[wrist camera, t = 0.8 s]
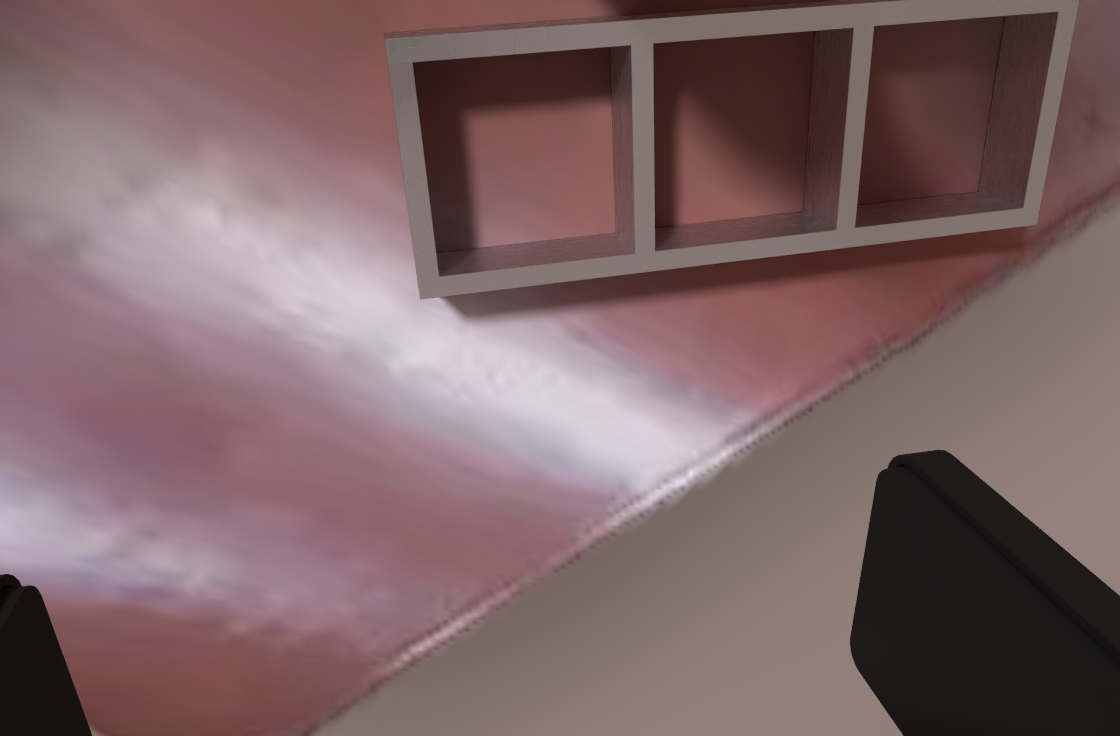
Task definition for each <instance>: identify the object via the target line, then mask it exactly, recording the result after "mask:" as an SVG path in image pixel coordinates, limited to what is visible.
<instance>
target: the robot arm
mask: <svg viewBox="0 0 1120 736" xmlns="http://www.w3.org/2000/svg"><path fill="white" fill-rule="evenodd" d="M850 647H851V653H852V657H853V659H854V662H855V665H856V667H857V669H858V670H859V672H860V674H861V675H862V676H863V678H864V679H865V681H866V682H867V683H868V685H869V687H870V688H871V689H872V691H873V692H874V694H875V695H876V697H877V698H878V700H879V701H880V702H881V704H882V705H883V707H884V708H885V710H886V711H887V712H888V714H889V715H890V717H891V718H892V720H893V721H894V723H895V724H896V725H897V727H898V728H899V730H900V731H901V732H902V734H903V736H1120V596H1119V595H1118V594H1117V593H1116V592H1114V591H1113V590H1112V589H1111V588H1110V587H1108V586H1107V585H1106V584H1105V583H1104V582H1103V581H1101V580H1100V579H1099V578H1098V577H1097V576H1096V575H1094V574H1093V573H1092V572H1091V571H1090V570H1088V569H1087V568H1086V567H1085V566H1084V565H1082V564H1081V563H1080V562H1079V561H1078V560H1077V559H1075V558H1074V557H1073V556H1072V555H1071V554H1069V553H1068V552H1067V551H1066V550H1065V549H1063V548H1062V547H1061V546H1060V545H1059V544H1058V543H1056V542H1055V541H1054V540H1053V539H1052V538H1050V537H1049V536H1048V535H1047V534H1046V533H1044V532H1043V531H1042V530H1041V529H1039V527H1037V526H1036V525H1035V524H1034V523H1032V522H1031V521H1030V520H1029V519H1028V518H1026V517H1025V516H1024V515H1023V514H1022V513H1021V512H1020V511H1018V510H1017V509H1016V508H1015V507H1013V506H1012V505H1011V504H1010V503H1009V502H1008V501H1006V500H1005V499H1004V498H1003V497H1002V496H1000V495H999V494H998V493H997V492H996V491H995V490H993V489H992V488H991V487H990V486H989V485H987V484H986V483H985V482H984V481H983V480H981V479H980V478H979V477H978V476H977V475H975V474H974V473H973V472H972V471H971V470H969V469H968V468H967V467H966V466H965V465H964V464H962V463H961V462H960V461H959V460H958V459H957V458H955V457H954V456H953V455H952V454H950V453H948V452H946V451H944V450H934V451H926V452H919V453H911V454H904V455H898V456H896V457H894V458H893V459H892V460H891V462H890V463H889V466H888V469H884V470H883V471H881V472H880V473H879V475H878V478H877V481H876V487H875V493H874V499H873V505H872V511H871V517H870V522H869V529H868V535H867V541H866V547H865V553H864V559H863V565H862V571H861V577H860V583H859V589H858V595H857V602H856V607H855V613H854V619H853V625H852V631H851V637H850ZM0 736H92V734H91V731H90V728H89V725H88V723H87V720H86V717H85V714H84V712H83V709H82V706H81V703H80V701H79V698H78V695H77V692H76V690H75V687H74V684H73V681H72V678H71V676H70V673H69V670H68V667H67V665H66V662H65V659H64V656H63V654H62V651H61V648H60V645H59V643H58V640H57V637H56V634H55V632H54V629H53V626H52V623H51V620H50V618H49V615H48V612H47V609H46V607H45V604H44V601H43V598H42V596H41V594H40V592H39V590H38V589H37V588H36V587H35V586H23V587H22V586H21V584H20V582H19V580H18V579H17V578H16V577H15V576H13V575H9V574H4V575H0Z"/></svg>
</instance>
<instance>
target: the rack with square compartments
mask: <svg viewBox="0 0 1120 736" xmlns="http://www.w3.org/2000/svg"><path fill="white" fill-rule="evenodd" d="M1078 5H1079V0H831V1H817V2H803V3H790V4H776V5H762V6H749V7H735V8H721V9H708V10H694V11H680V12H666V13H653V14H639V15H625V16H612V17H598V18H584V19H570V20H557V21H543V22H529V23H516V24H502V25H488V26H475V27H461V28H447V29H433V30H420V31H406V32H392V33H384V37H385V45H386V52H387V60H388V67H389V74H390V82H391V89H392V96H393V104H394V111H395V119H396V126H397V133H398V141H399V148H400V155H401V163H402V170H403V178H404V185H405V192H406V200H407V207H408V214H409V222H410V229H411V236H412V244H413V251H414V259H415V266H416V273H417V280H418V287H419V294H420V299H428V298H436V297H444V296H453V295H461V294H469V293H478V292H486V291H494V290H502V289H511V288H519V287H527V286H535V285H544V284H552V283H560V282H568V281H577V280H585V279H593V278H601V277H610V276H618V275H626V274H634V273H643V272H651V271H659V270H667V269H676V268H684V267H692V266H700V265H709V264H717V263H725V262H733V261H742V260H750V259H758V258H766V257H775V256H783V255H791V254H799V253H808V252H816V251H824V250H832V249H841V248H849V247H857V246H865V245H874V244H882V243H890V242H898V241H907V240H915V239H923V238H931V237H940V236H948V235H956V234H964V233H973V232H981V231H989V230H997V229H1006V228H1014V227H1022V226H1030V225H1037V221H1038V216H1039V211H1040V205H1041V200H1042V195H1043V190H1044V184H1045V179H1046V174H1047V168H1048V163H1049V158H1050V153H1051V147H1052V142H1053V137H1054V131H1055V126H1056V121H1057V116H1058V110H1059V105H1060V100H1061V95H1062V89H1063V84H1064V79H1065V73H1066V68H1067V63H1068V58H1069V52H1070V47H1071V42H1072V36H1073V31H1074V26H1075V21H1076V15H1077V10H1078ZM996 16H1005V21H1004V27H1003V34H1002V40H1001V47H1000V53H999V60H998V66H997V72H996V79H995V85H994V92H993V98H992V104H991V111H990V117H989V124H988V130H987V136H986V143H985V149H984V156H983V162H982V169H981V175H980V181H979V188H978V192H972V193H963V194H954V195H946V196H937V197H928V198H919V199H910V200H901V201H893V202H884V203H875V204H866V205H857V201H858V190H859V180H860V169H861V159H862V148H863V138H864V127H865V117H866V106H867V96H868V85H869V75H870V64H871V54H872V43H873V33H874V26H881V25H894V24H906V23H919V22H932V21H945V20H957V19H970V18H983V17H996ZM805 31H815V42H814V57H813V72H812V86H811V101H810V116H809V131H808V146H807V160H806V175H805V190H804V205H803V212H796V213H787V214H778V215H769V216H760V217H751V218H743V219H734V220H725V221H716V222H707V223H698V224H690V225H681V226H672V227H663V228H655V187H654V72H653V43H665V42H677V41H690V40H703V39H715V38H728V37H741V36H754V35H766V34H779V33H792V32H805ZM601 47H610V59H611V93H612V127H613V161H614V196H615V230H616V233H610V234H601V235H592V236H584V237H575V238H566V239H557V240H548V241H539V242H531V243H522V244H513V245H504V246H495V247H486V248H478V249H469V250H460V251H451V252H442V253H436V248H435V240H434V232H433V224H432V216H431V208H430V200H429V192H428V184H427V176H426V168H425V159H424V151H423V143H422V135H421V127H420V119H419V111H418V103H417V95H416V87H415V79H414V71H413V63H412V62H423V61H435V60H448V59H461V58H474V57H486V56H499V55H512V54H525V53H537V52H550V51H563V50H575V49H588V48H601Z"/></svg>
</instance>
